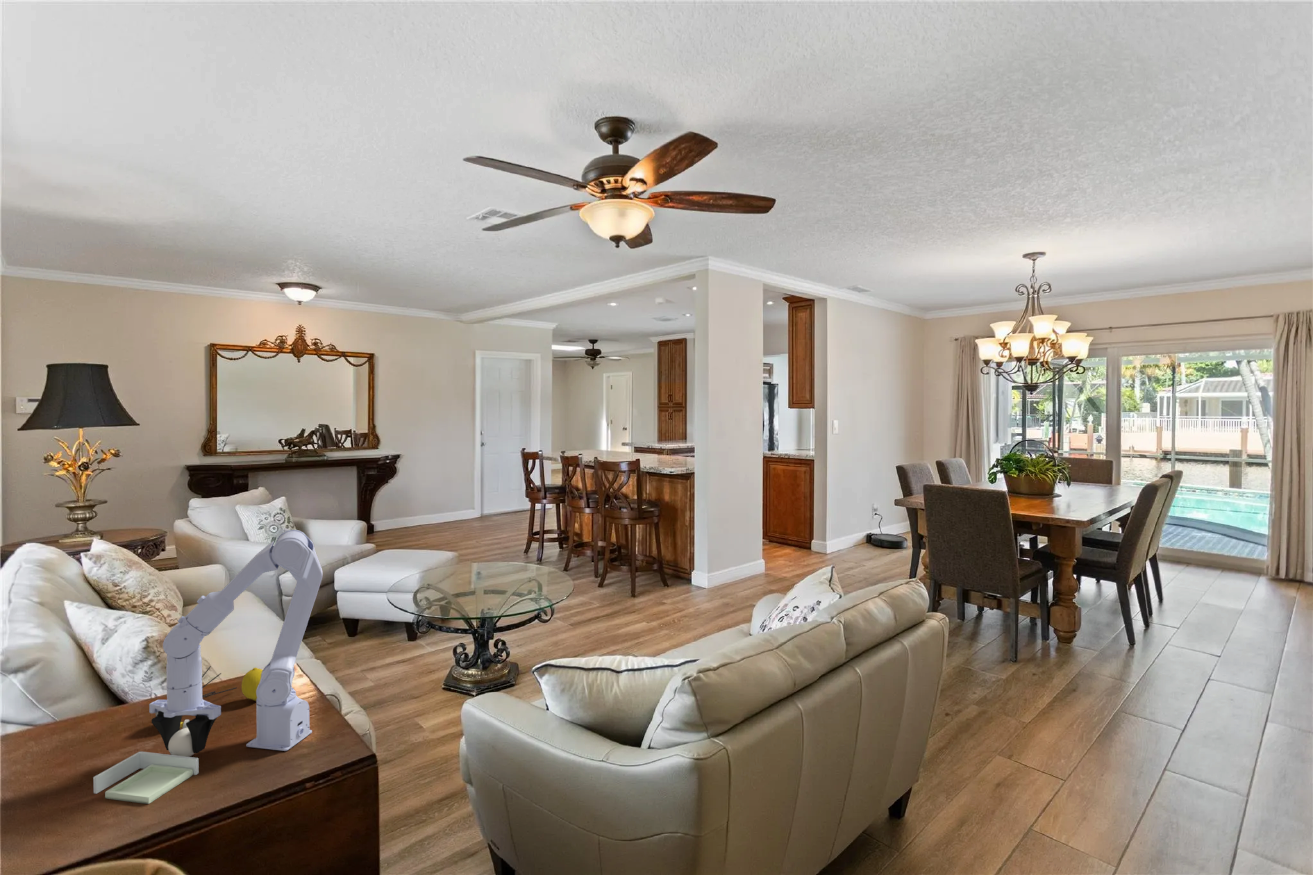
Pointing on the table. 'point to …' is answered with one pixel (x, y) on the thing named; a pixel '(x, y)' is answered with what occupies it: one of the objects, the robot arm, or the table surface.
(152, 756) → the acrylic walls
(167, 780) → the resting spot
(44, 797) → the table surface
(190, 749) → the ball
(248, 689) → the lemon
